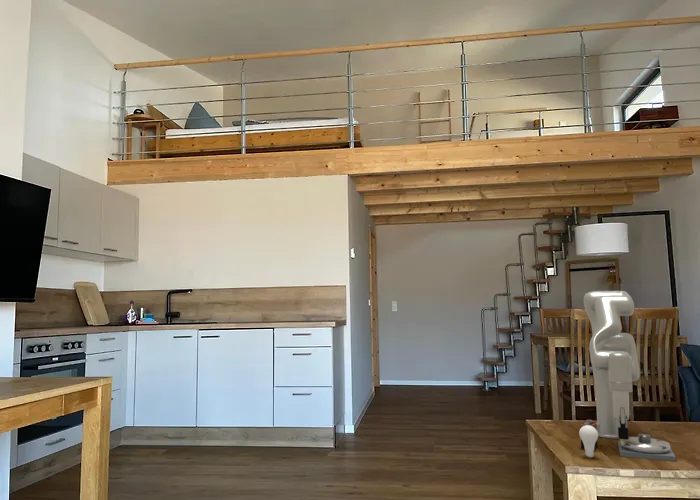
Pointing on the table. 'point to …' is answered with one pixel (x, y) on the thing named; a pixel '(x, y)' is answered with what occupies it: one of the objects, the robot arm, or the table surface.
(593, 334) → the robot arm
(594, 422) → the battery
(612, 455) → the table surface
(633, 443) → the round tabbed tray
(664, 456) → the base plate
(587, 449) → the lightbulb
